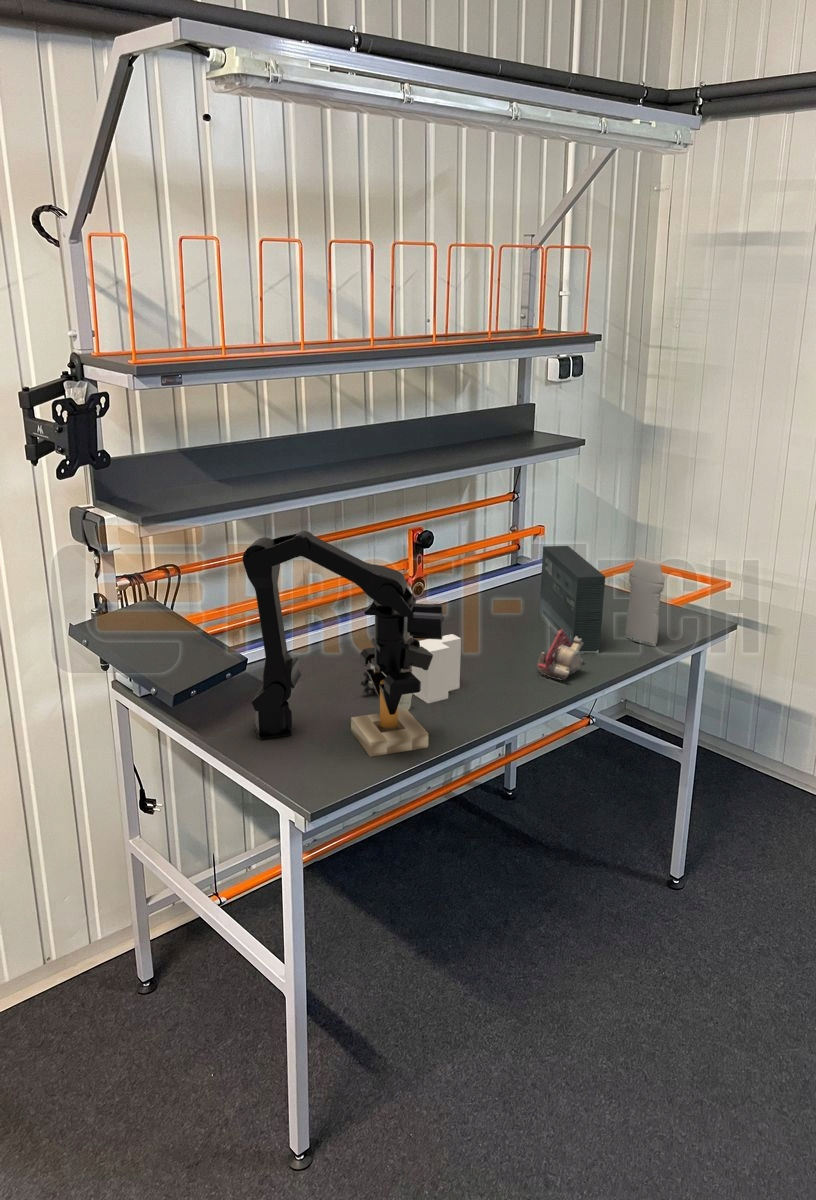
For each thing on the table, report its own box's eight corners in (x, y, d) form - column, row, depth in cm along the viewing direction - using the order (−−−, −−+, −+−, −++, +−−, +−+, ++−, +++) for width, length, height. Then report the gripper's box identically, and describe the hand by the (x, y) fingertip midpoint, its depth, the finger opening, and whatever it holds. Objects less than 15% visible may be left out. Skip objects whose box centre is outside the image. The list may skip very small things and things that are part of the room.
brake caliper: (546, 651, 233) (575, 620, 225) (576, 686, 229) (606, 656, 222) (520, 664, 224) (549, 632, 217) (550, 700, 221) (581, 670, 214)
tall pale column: (619, 637, 249) (626, 555, 243) (629, 634, 252) (636, 553, 245) (652, 649, 242) (660, 565, 235) (662, 645, 244) (671, 562, 237)
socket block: (370, 756, 184) (370, 742, 183) (351, 730, 195) (350, 717, 194) (428, 747, 188) (428, 733, 187) (406, 722, 199) (406, 709, 198)
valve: (420, 706, 207) (382, 689, 215) (420, 678, 205) (383, 662, 213) (397, 715, 203) (360, 697, 211) (397, 686, 201) (360, 669, 209)
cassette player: (599, 653, 238) (605, 576, 232) (572, 654, 237) (577, 577, 231) (563, 615, 266) (568, 545, 260) (538, 616, 265) (543, 546, 258)
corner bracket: (427, 703, 208) (428, 651, 205) (400, 685, 217) (401, 635, 214) (467, 693, 214) (469, 643, 210) (439, 676, 223) (440, 627, 219)
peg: (383, 729, 188) (383, 686, 186) (377, 721, 192) (377, 679, 189) (400, 726, 190) (401, 684, 187) (394, 719, 193) (394, 677, 190)
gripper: (447, 647, 179) (445, 723, 184) (411, 616, 196) (409, 687, 201) (391, 654, 175) (390, 732, 180) (359, 622, 192) (359, 694, 197)
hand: (388, 710), depth 190 cm, fingers closed on peg, 4 cm apart
